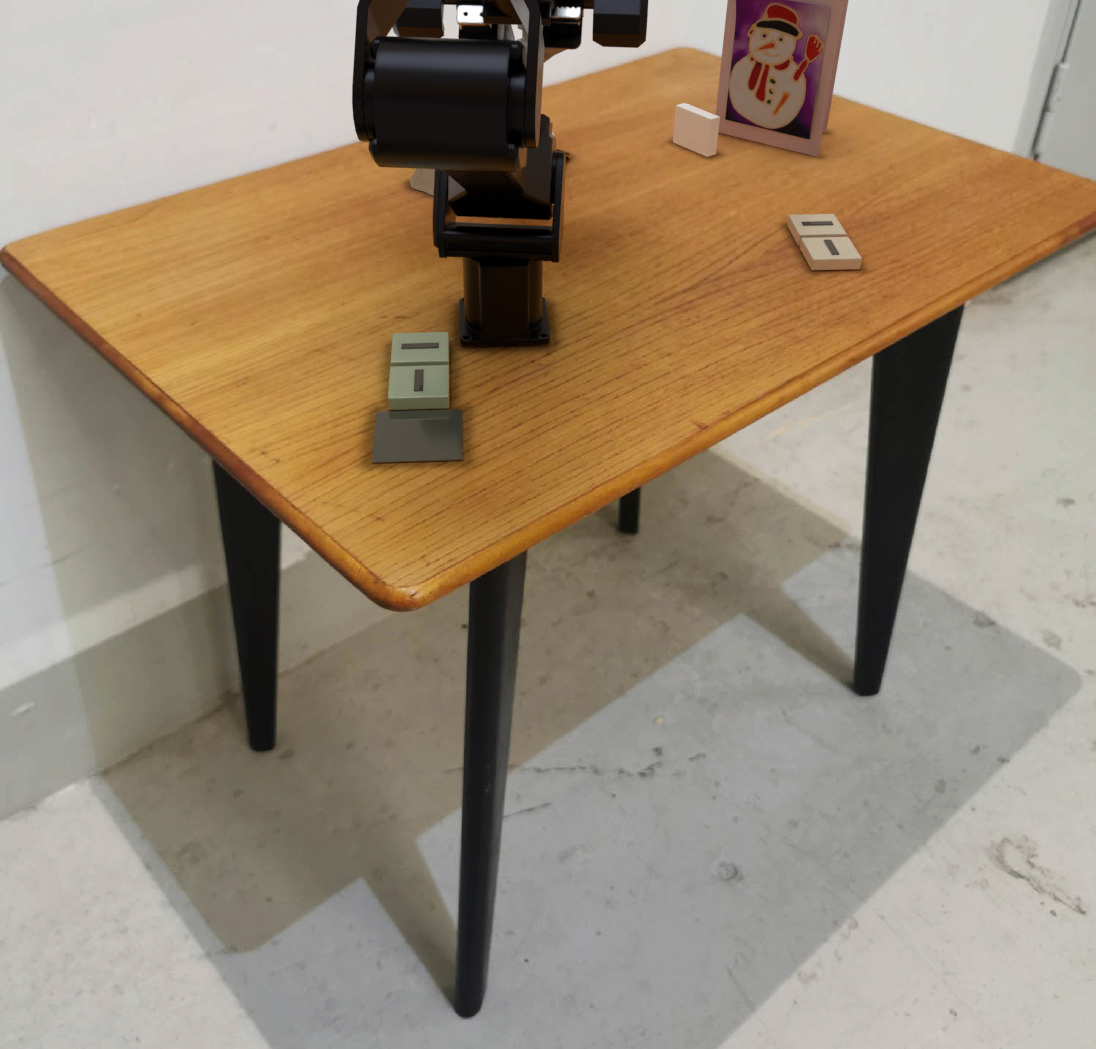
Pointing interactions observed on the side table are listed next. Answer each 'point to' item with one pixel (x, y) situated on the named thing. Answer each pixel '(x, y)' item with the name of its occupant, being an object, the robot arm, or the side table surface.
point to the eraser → (696, 129)
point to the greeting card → (779, 70)
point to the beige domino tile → (823, 242)
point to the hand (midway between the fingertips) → (527, 57)
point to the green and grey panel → (418, 403)
